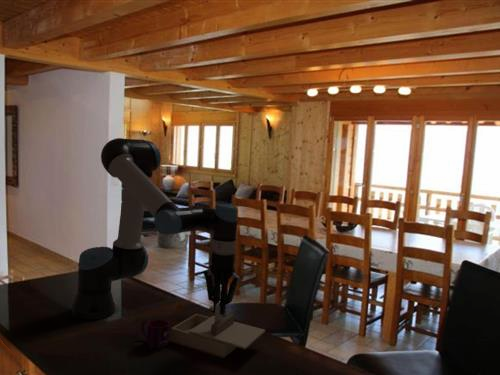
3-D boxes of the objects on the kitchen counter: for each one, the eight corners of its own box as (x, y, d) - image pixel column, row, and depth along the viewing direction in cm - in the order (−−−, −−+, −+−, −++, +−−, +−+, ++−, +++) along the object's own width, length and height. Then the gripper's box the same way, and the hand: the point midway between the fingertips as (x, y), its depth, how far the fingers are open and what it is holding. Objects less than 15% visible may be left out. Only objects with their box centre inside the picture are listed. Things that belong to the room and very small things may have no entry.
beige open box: (170, 341, 142) (171, 328, 141) (195, 325, 155) (196, 313, 155) (224, 358, 133) (225, 344, 133) (245, 340, 147) (246, 327, 147)
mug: (157, 350, 135) (158, 329, 134) (135, 340, 140) (136, 320, 140) (172, 343, 140) (173, 323, 140) (150, 334, 146) (152, 314, 145)
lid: (189, 332, 138) (189, 321, 138) (212, 317, 152) (213, 307, 152) (245, 349, 130) (246, 337, 130) (265, 331, 144) (266, 321, 143)
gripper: (200, 251, 140) (195, 321, 142) (236, 258, 134) (230, 331, 136) (211, 247, 146) (207, 314, 148) (246, 253, 141) (241, 323, 143)
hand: (218, 322), depth 142 cm, fingers closed
